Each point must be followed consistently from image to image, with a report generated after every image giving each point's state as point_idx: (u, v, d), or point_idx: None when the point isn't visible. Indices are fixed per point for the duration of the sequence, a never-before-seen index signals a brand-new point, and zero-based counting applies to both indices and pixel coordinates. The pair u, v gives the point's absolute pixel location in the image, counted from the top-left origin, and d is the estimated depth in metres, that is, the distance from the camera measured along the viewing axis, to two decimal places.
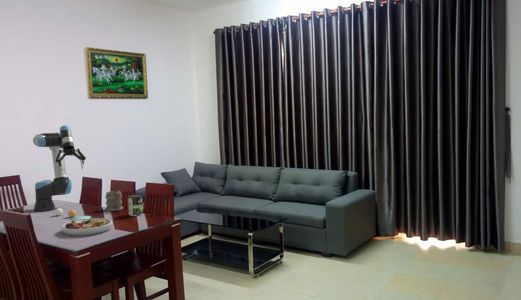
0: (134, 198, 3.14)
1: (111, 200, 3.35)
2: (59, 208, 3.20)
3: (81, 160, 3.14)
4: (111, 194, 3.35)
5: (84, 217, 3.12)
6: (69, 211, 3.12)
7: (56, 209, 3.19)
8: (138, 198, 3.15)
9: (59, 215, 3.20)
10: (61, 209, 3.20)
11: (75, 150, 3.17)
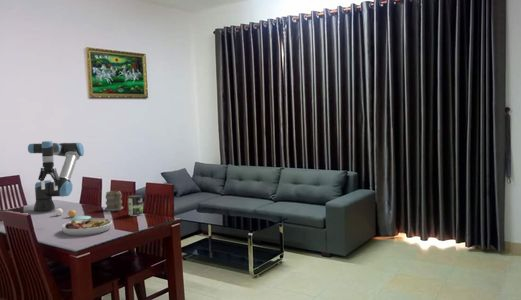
0: (134, 198, 3.14)
1: (111, 200, 3.35)
2: (59, 208, 3.20)
3: (53, 182, 3.19)
4: (111, 194, 3.35)
5: (84, 217, 3.12)
6: (69, 211, 3.12)
7: (56, 209, 3.19)
8: (138, 198, 3.15)
9: (59, 215, 3.20)
10: (61, 209, 3.20)
11: (51, 170, 3.20)
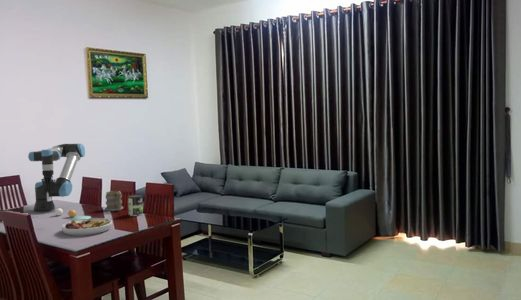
0: (134, 198, 3.14)
1: (111, 200, 3.35)
2: (59, 208, 3.20)
3: (47, 193, 3.23)
4: (111, 194, 3.35)
5: (84, 217, 3.12)
6: (69, 211, 3.12)
7: (56, 209, 3.19)
8: (138, 198, 3.15)
9: (59, 215, 3.20)
10: (61, 209, 3.20)
11: (50, 179, 3.21)
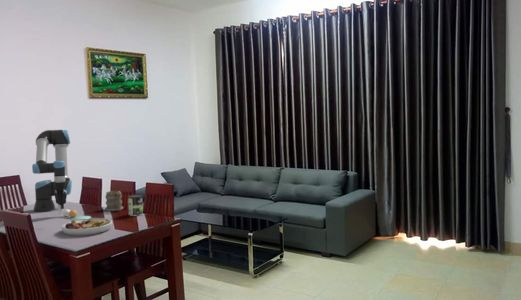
0: (134, 198, 3.14)
1: (111, 200, 3.35)
2: (67, 216, 3.17)
3: (59, 205, 3.17)
4: (111, 194, 3.35)
5: (84, 217, 3.12)
6: (71, 211, 3.12)
7: None
8: (138, 198, 3.15)
9: None
10: None
11: (63, 191, 3.16)
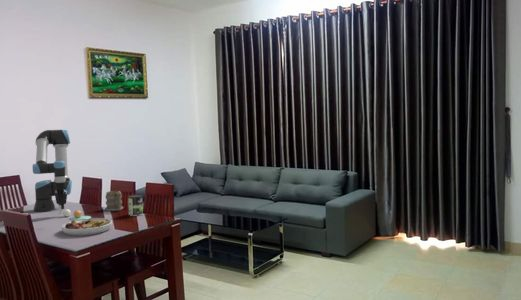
0: (134, 198, 3.14)
1: (111, 200, 3.35)
2: (67, 216, 3.17)
3: (60, 206, 3.18)
4: (111, 194, 3.35)
5: (84, 217, 3.12)
6: (76, 216, 3.09)
7: None
8: (138, 198, 3.15)
9: None
10: None
11: (63, 191, 3.16)
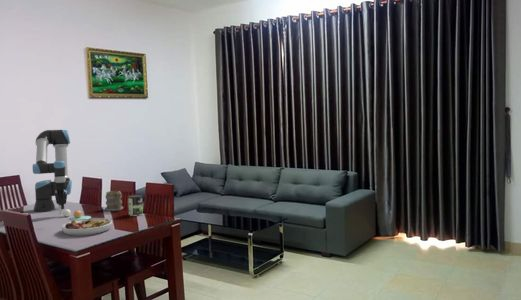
0: (134, 198, 3.14)
1: (111, 200, 3.35)
2: (67, 216, 3.17)
3: (60, 206, 3.18)
4: (111, 194, 3.35)
5: (84, 217, 3.12)
6: (76, 216, 3.09)
7: None
8: (138, 198, 3.15)
9: None
10: None
11: (63, 191, 3.16)
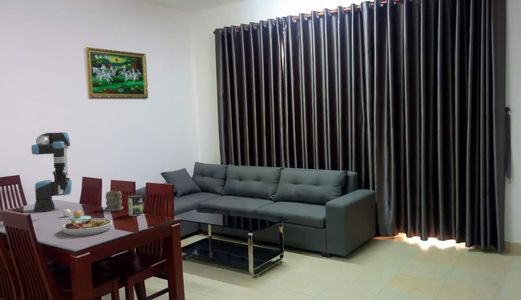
0: (134, 198, 3.14)
1: (111, 200, 3.35)
2: (67, 216, 3.17)
3: (59, 186, 3.17)
4: (111, 194, 3.35)
5: (84, 217, 3.12)
6: (76, 216, 3.09)
7: None
8: (138, 198, 3.15)
9: None
10: None
11: (62, 171, 3.15)
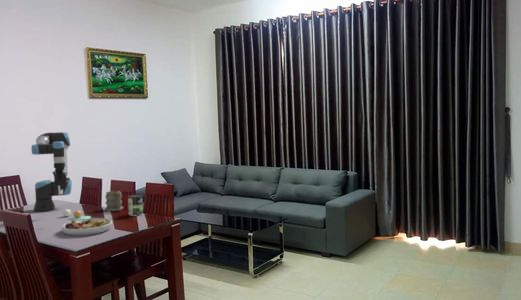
0: (134, 198, 3.14)
1: (111, 200, 3.35)
2: (67, 216, 3.17)
3: (59, 186, 3.17)
4: (111, 194, 3.35)
5: (84, 217, 3.12)
6: (76, 216, 3.09)
7: None
8: (138, 198, 3.15)
9: None
10: None
11: (62, 171, 3.15)
